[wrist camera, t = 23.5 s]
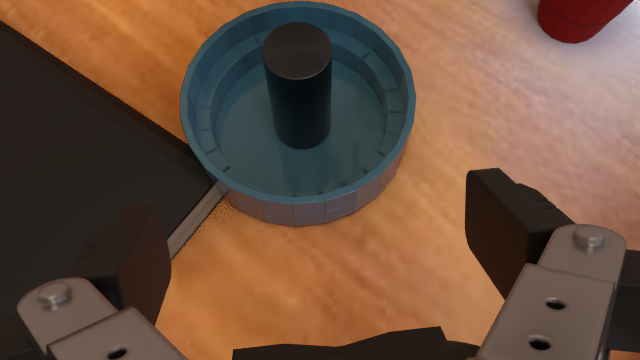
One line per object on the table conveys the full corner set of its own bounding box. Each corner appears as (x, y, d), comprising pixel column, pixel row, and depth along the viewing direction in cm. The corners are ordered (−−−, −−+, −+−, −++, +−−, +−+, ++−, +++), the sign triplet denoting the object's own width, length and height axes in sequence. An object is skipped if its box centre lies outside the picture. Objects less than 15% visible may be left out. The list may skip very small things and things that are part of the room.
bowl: (197, 238, 43) (180, 215, 38) (194, 51, 50) (179, 11, 45) (422, 215, 44) (435, 190, 39) (388, 33, 51) (395, -8, 46)
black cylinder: (277, 152, 45) (263, 82, 36) (273, 103, 47) (259, 24, 38) (333, 147, 46) (335, 76, 36) (327, 98, 47) (328, 18, 38)
